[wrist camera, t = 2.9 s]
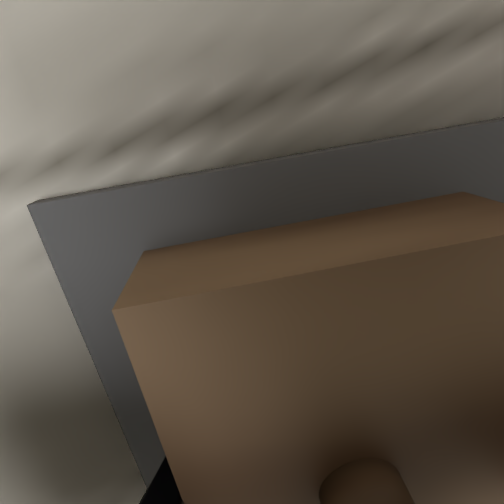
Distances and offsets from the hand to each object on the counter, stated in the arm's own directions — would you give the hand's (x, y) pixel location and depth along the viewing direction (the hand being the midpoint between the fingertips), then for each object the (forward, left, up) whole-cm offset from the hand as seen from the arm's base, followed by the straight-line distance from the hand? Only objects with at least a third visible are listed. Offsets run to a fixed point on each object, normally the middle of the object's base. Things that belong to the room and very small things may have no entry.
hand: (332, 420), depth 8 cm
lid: (0, 0, -1) cm, 1 cm away
